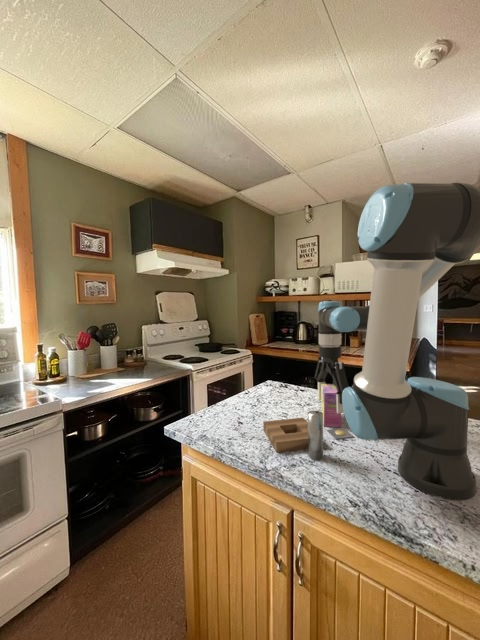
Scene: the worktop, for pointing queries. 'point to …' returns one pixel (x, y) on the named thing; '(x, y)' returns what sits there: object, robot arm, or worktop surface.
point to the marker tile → (340, 433)
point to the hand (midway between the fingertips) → (330, 405)
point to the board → (287, 434)
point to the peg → (315, 435)
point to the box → (330, 406)
